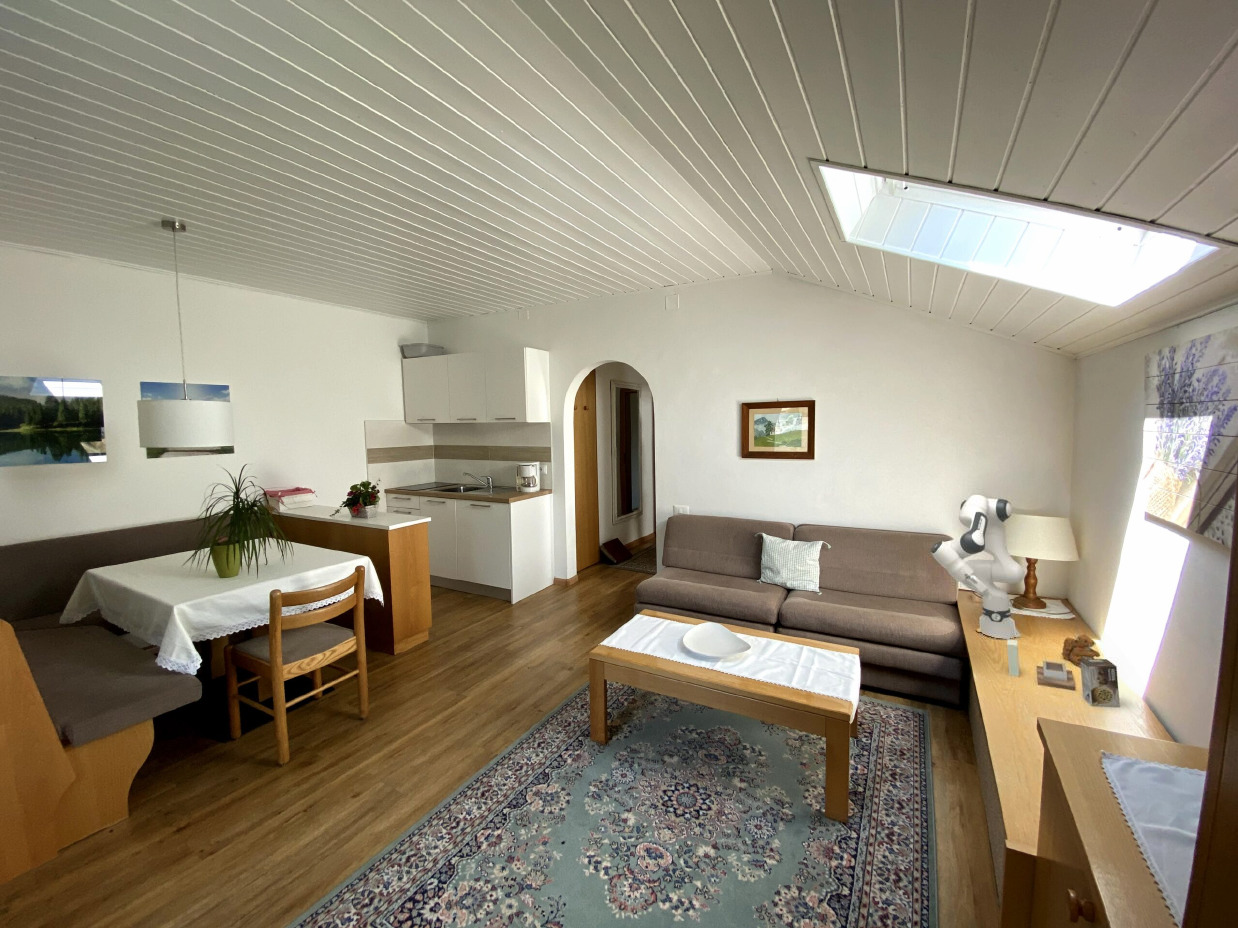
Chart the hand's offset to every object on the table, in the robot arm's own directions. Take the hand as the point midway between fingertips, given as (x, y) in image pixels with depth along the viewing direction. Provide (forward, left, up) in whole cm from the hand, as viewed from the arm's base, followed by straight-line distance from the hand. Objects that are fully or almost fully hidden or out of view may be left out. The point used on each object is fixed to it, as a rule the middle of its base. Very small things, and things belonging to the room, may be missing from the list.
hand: (986, 597), depth 237 cm
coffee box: (+17, +35, -33) cm, 51 cm away
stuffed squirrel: (-20, +31, -33) cm, 50 cm away
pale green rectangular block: (+2, +8, -33) cm, 34 cm away
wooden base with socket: (+2, +22, -33) cm, 40 cm away
